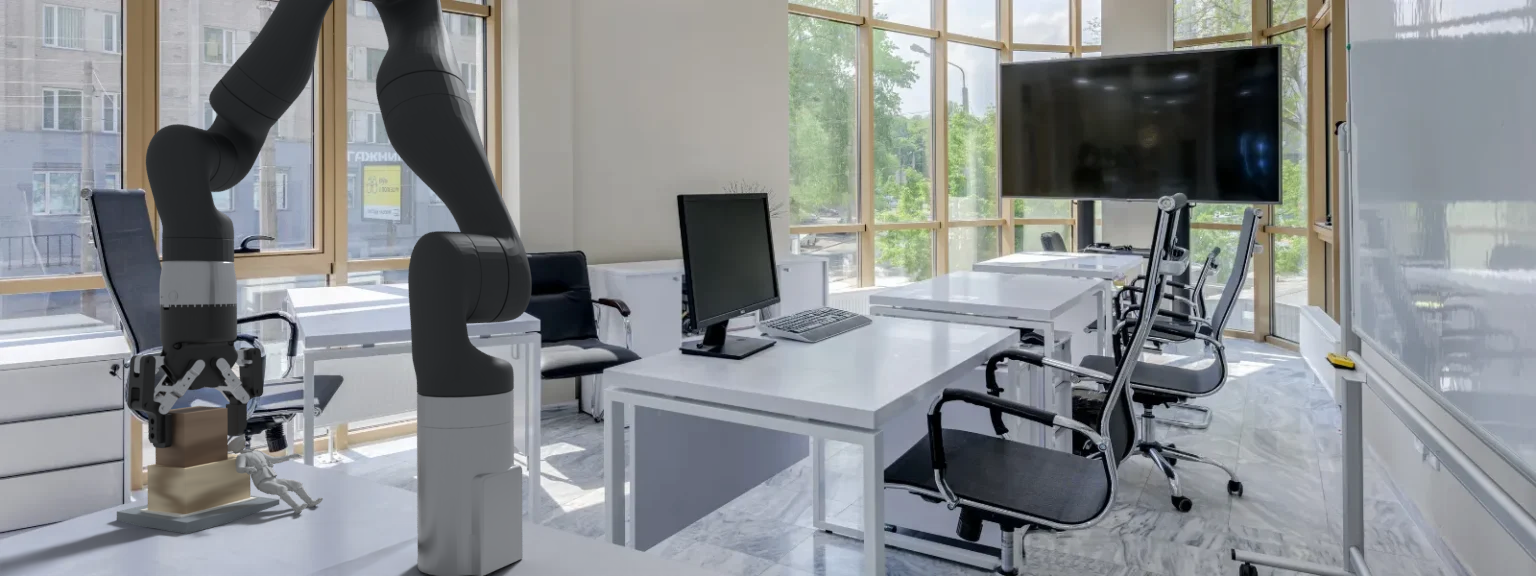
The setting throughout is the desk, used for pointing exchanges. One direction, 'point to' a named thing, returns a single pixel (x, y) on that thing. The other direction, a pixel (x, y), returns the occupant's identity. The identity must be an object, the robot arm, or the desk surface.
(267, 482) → the soldier figure
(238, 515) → the board
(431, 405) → the robot arm
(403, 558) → the desk surface
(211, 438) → the walnut cube
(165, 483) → the maple block
